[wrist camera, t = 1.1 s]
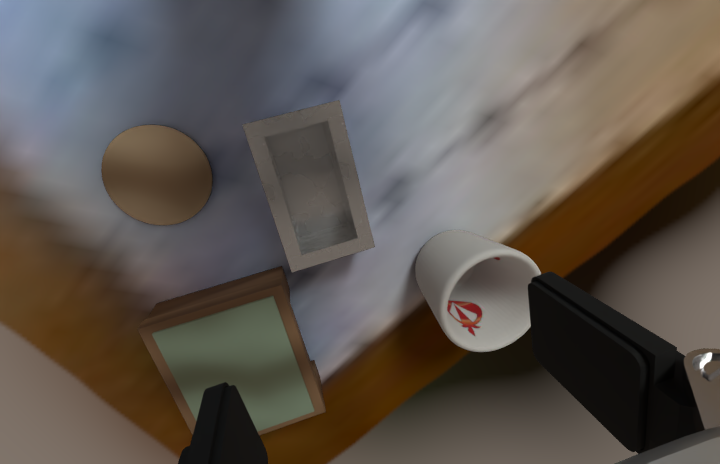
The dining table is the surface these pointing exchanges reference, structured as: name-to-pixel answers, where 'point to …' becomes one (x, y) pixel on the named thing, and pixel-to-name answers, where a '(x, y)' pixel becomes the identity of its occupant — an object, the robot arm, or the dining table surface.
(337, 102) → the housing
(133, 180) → the coaster
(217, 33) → the dining table surface
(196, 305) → the stand
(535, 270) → the cup
